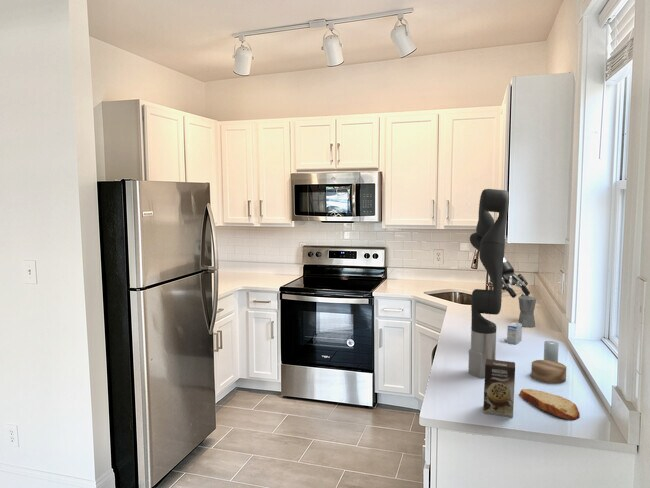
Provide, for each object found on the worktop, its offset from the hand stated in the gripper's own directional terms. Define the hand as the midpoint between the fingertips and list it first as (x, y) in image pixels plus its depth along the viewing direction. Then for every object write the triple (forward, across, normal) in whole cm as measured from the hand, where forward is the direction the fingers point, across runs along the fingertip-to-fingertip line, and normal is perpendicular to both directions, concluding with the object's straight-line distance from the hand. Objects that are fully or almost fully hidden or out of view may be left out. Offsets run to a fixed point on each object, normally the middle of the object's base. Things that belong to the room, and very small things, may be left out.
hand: (521, 295), depth 203 cm
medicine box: (+8, +15, +30) cm, 34 cm away
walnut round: (+34, -11, +3) cm, 36 cm away
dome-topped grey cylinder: (+29, 0, +8) cm, 31 cm away
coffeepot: (-4, +46, +43) cm, 63 cm away
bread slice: (+46, -34, -8) cm, 57 cm away
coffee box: (+42, -51, -4) cm, 66 cm away
